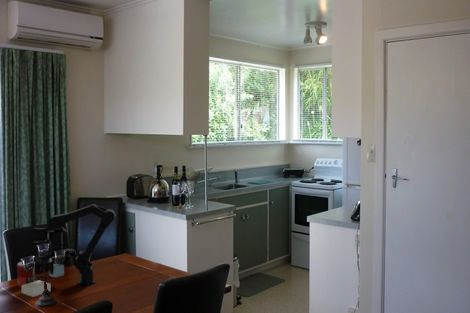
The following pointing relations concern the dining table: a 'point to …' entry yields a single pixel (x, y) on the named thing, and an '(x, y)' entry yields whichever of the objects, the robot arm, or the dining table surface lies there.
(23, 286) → the base box
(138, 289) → the dining table surface
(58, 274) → the block
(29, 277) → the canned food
